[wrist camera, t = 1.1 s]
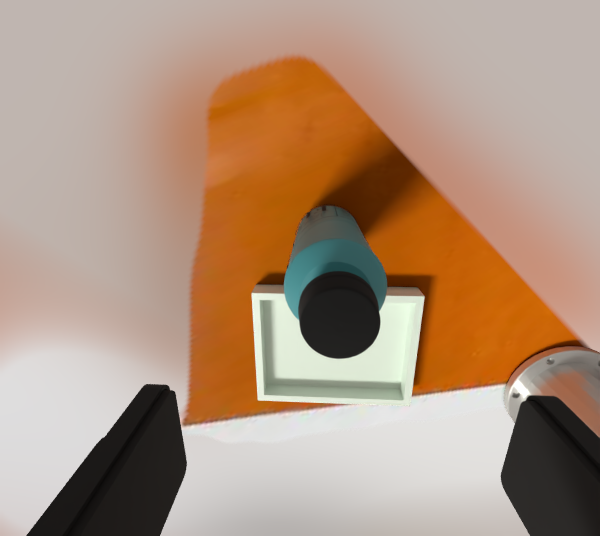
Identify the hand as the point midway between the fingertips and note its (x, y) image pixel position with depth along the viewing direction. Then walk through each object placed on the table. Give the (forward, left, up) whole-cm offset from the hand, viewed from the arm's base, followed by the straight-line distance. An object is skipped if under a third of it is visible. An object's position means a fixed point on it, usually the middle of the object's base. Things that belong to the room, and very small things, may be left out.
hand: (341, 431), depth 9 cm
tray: (-1, +13, -26) cm, 29 cm away
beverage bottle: (0, 0, -26) cm, 26 cm away
